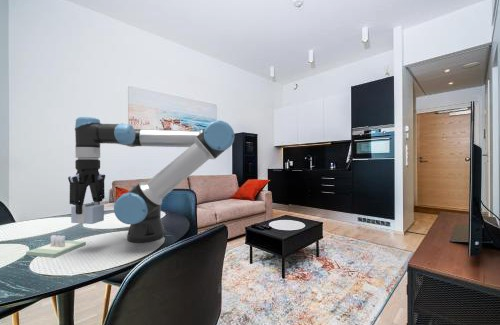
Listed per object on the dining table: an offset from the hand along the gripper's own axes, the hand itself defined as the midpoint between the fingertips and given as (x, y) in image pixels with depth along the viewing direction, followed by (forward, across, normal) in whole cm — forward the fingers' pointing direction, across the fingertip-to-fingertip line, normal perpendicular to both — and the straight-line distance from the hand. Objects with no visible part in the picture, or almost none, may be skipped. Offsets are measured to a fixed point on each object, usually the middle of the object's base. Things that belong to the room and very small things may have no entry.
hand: (88, 220), depth 82 cm
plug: (0, 0, 0) cm, 0 cm away
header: (+11, +1, -12) cm, 17 cm away
